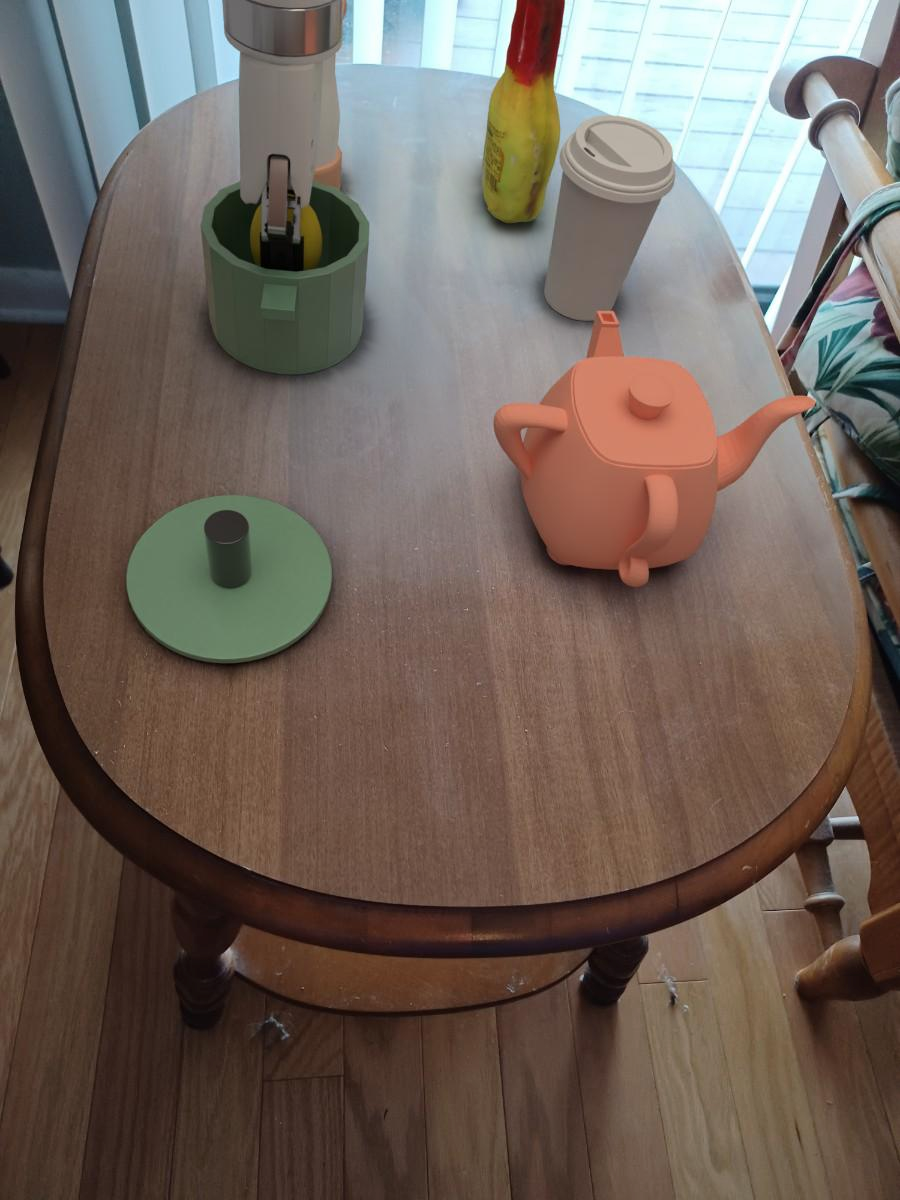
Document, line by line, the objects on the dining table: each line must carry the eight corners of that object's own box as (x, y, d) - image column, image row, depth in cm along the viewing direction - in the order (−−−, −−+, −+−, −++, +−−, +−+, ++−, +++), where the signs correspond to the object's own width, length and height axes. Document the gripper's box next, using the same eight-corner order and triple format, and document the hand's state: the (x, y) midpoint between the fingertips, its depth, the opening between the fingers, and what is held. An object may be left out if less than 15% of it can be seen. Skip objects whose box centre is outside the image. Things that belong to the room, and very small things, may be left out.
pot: (198, 391, 75) (186, 292, 67) (223, 248, 85) (216, 148, 77) (358, 404, 76) (365, 309, 68) (365, 262, 86) (371, 165, 79)
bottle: (468, 163, 97) (502, -56, 81) (528, 167, 98) (574, -48, 82) (481, 235, 91) (522, 14, 74) (546, 239, 92) (600, 21, 75)
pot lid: (112, 663, 61) (95, 610, 56) (145, 499, 68) (133, 439, 63) (326, 673, 62) (329, 622, 57) (335, 511, 70) (338, 454, 65)
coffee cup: (517, 264, 89) (552, 107, 77) (613, 264, 91) (662, 111, 79) (541, 333, 84) (582, 177, 72) (641, 331, 86) (699, 179, 74)
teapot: (568, 407, 79) (613, 272, 68) (746, 514, 75) (824, 390, 64) (457, 520, 71) (487, 387, 60) (649, 647, 67) (720, 531, 56)
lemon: (241, 269, 77) (237, 179, 71) (305, 257, 79) (306, 168, 73) (266, 312, 75) (264, 223, 68) (331, 298, 77) (335, 210, 70)
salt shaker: (253, 168, 92) (243, -53, 76) (322, 157, 95) (327, -60, 79) (282, 212, 89) (279, -9, 73) (353, 199, 91) (364, -18, 76)
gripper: (237, -58, 64) (247, 186, 79) (206, 74, 55) (225, 323, 70) (348, -42, 65) (338, 196, 80) (337, 90, 56) (328, 333, 71)
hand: (285, 253), depth 75 cm, fingers closed on lemon, 5 cm apart
